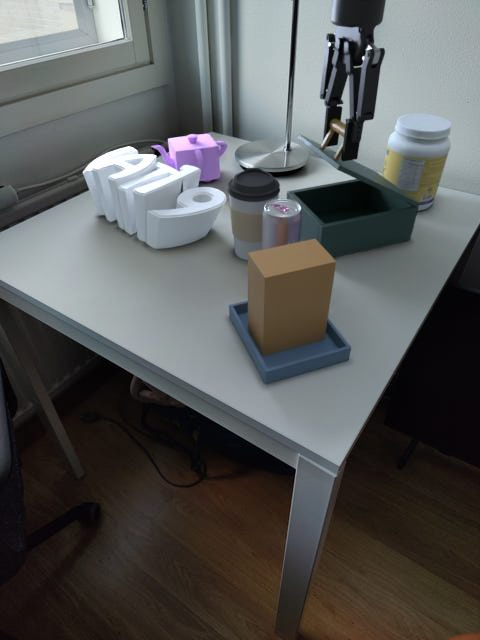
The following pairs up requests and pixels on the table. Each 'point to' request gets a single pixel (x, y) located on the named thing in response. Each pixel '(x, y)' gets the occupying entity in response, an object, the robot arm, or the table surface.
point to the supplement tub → (418, 156)
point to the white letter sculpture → (152, 198)
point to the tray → (290, 350)
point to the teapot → (195, 154)
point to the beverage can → (281, 223)
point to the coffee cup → (250, 207)
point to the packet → (289, 295)
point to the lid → (353, 164)
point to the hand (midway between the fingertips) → (339, 151)
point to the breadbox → (353, 216)
